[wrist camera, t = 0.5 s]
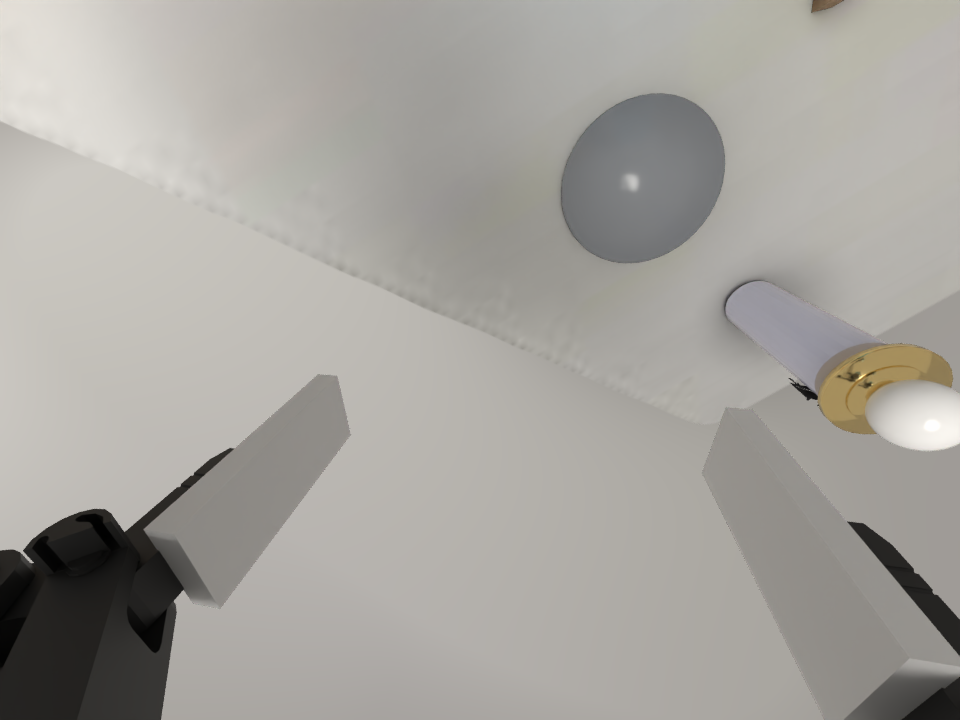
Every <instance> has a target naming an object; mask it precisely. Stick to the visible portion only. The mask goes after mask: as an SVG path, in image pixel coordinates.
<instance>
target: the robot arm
mask: <svg viewBox="0 0 960 720" xmlns="http://www.w3.org/2000/svg"><path fill="white" fill-rule="evenodd" d="M349 436H350V430H349V425H348V421H347V416H346V412H345V408H344V404H343V399H342V395H341V390H340V386H339V382H338V378H337V376H331V375H317V376H316V377H315V378H314V379H313V380H311V381H310V382H309V383H308V384H307V385H306V386H305V387H304V388H302V389H301V390H300V391H299V392H298V393H297V394H296V395H294V396H293V397H292V398H291V399H290V400H289V401H288V402H287V403H286V404H284V405H283V406H282V407H281V408H280V409H279V410H278V411H276V412H275V413H274V414H273V415H272V416H271V417H270V418H269V419H267V420H266V421H265V422H264V423H263V424H262V425H261V426H259V427H258V428H257V429H256V430H255V431H254V432H253V433H252V434H251V435H249V436H248V437H247V438H246V439H245V440H244V441H243V442H241V443H240V444H239V445H238V446H237V447H236V448H235V449H232V448H229V449H228V450H226V451H224V452H222V453H220V454H219V455H217V456H215V457H213V458H211V459H210V460H209V461H208V462H206V463H205V464H204V465H203V466H202V467H201V468H199V469H198V470H197V471H196V472H195V473H194V475H193V476H190V477H189V478H188V479H187V480H185V481H184V482H183V483H182V484H181V487H177V488H176V489H175V490H174V491H173V492H171V493H170V494H169V495H168V496H167V497H165V498H164V499H163V500H162V501H161V502H160V503H158V504H157V505H156V506H155V507H154V508H152V509H151V510H150V511H149V512H148V513H147V514H146V515H144V516H143V517H142V518H141V519H140V520H139V521H137V522H136V523H135V524H134V525H133V526H131V527H130V528H129V529H128V530H127V531H125V532H124V531H123V530H122V528H121V527H120V525H119V524H118V523H117V521H116V520H115V518H114V517H113V516H112V514H111V513H109V512H108V511H107V510H105V509H92V510H87V511H83V512H79V513H77V514H74V515H71V516H69V517H67V518H64V519H62V520H60V521H58V522H57V523H55V524H53V525H52V526H50V527H48V528H46V529H45V530H44V531H43V532H41V533H40V534H39V535H38V536H36V537H35V538H34V539H32V540H31V542H30V543H29V544H28V545H27V546H26V548H25V549H24V550H23V551H24V552H25V553H26V555H27V556H28V557H29V558H30V559H31V560H32V561H33V562H34V563H29V561H28V560H27V559H26V558H25V557H24V556H23V555H22V554H21V553H20V552H18V551H16V550H2V551H0V720H161V715H162V708H163V701H164V695H165V688H166V681H167V674H168V667H169V660H170V653H171V646H172V639H173V632H174V626H175V619H176V605H175V603H174V600H175V599H176V597H177V596H178V595H179V594H180V593H181V591H183V590H184V591H185V592H186V594H187V595H188V597H189V598H190V600H191V601H192V603H193V604H198V605H203V606H208V607H213V608H218V609H220V608H221V607H222V606H223V604H224V603H225V602H226V600H227V599H228V598H229V596H230V595H231V594H232V592H233V591H234V590H235V588H236V587H237V586H238V584H239V583H240V582H241V580H242V579H243V578H244V576H245V575H246V574H247V572H248V571H249V570H250V568H251V567H252V566H253V564H254V563H255V562H256V560H257V559H258V558H259V556H260V555H261V554H262V552H263V551H264V550H265V548H266V547H267V546H268V544H269V543H270V542H271V540H272V539H273V538H274V536H275V535H276V534H277V532H278V531H279V530H280V528H281V527H282V526H283V524H284V523H285V522H286V520H287V519H288V518H289V516H290V515H291V514H292V512H293V511H294V510H295V508H296V507H297V506H298V504H299V503H300V502H301V500H302V499H303V498H304V496H305V495H306V494H307V492H308V491H309V490H310V488H311V487H312V486H313V484H314V483H315V482H316V480H317V479H318V478H319V476H320V475H321V474H322V472H323V471H324V470H325V468H326V467H327V466H328V464H329V463H330V462H331V460H332V459H333V458H334V456H335V455H336V454H337V452H338V451H339V450H340V448H341V447H342V446H343V444H344V443H345V442H346V440H347V439H348V437H349ZM702 474H703V476H704V478H705V480H706V482H707V484H708V486H709V488H710V490H711V492H712V494H713V496H714V498H715V500H716V502H717V504H718V506H719V509H720V510H721V512H722V515H723V517H724V519H725V520H726V523H727V525H728V527H729V529H730V531H731V532H732V535H733V537H734V539H735V541H736V543H737V545H738V547H739V549H740V551H741V553H742V555H743V557H744V559H745V561H746V563H747V565H748V567H749V569H750V571H751V573H752V575H753V577H754V579H755V581H756V583H757V585H758V587H759V589H760V591H761V593H762V595H763V597H764V599H765V601H766V603H767V605H768V607H769V609H770V611H771V613H772V615H773V617H774V619H775V621H776V623H777V625H778V627H779V629H780V631H781V633H782V635H783V637H784V639H785V641H786V643H787V646H788V647H789V650H790V651H791V654H792V656H793V658H794V659H795V662H796V664H797V666H798V668H799V670H800V672H801V674H802V676H803V678H804V680H805V682H806V684H807V686H808V688H809V690H810V692H811V694H812V696H813V698H814V700H815V702H816V704H817V706H818V708H819V710H820V712H821V714H822V716H823V718H824V720H960V619H958V617H957V616H956V615H955V614H954V613H953V612H952V611H951V609H950V608H949V607H948V606H947V605H946V604H945V603H944V602H943V601H942V600H941V598H940V597H939V596H938V595H934V594H933V592H932V589H931V588H930V586H929V585H928V584H927V583H926V582H925V581H924V580H923V579H922V578H921V577H920V575H919V574H915V573H914V569H913V568H912V566H911V565H910V564H909V563H908V562H907V561H906V560H905V559H904V558H903V557H902V556H901V554H900V553H899V552H898V551H897V550H896V549H895V548H894V547H893V545H891V544H890V543H889V542H887V541H886V540H885V539H883V538H882V537H881V536H879V535H878V534H877V533H875V532H874V531H873V530H871V529H870V528H869V527H867V526H866V525H865V524H863V523H855V522H847V521H846V520H845V519H844V518H843V516H842V515H841V514H840V513H839V512H838V510H837V509H836V508H835V507H834V506H833V505H832V503H831V502H830V501H829V500H828V499H827V498H826V496H825V495H824V494H823V493H822V492H821V490H820V489H819V488H818V487H817V485H816V484H815V483H814V482H813V481H812V479H811V478H810V477H809V476H808V475H807V473H805V471H804V470H803V469H802V468H801V466H800V465H799V464H798V463H797V462H796V460H795V459H794V458H793V457H792V456H791V455H790V453H789V452H788V451H787V450H786V448H785V447H784V446H783V445H782V444H781V442H780V441H779V440H778V439H777V438H776V437H775V435H774V434H773V433H772V432H771V431H770V429H769V428H768V427H767V426H766V425H765V423H764V422H763V421H762V420H761V419H760V418H759V416H758V415H757V414H756V413H755V411H754V410H750V409H739V408H727V407H726V408H725V411H724V414H723V417H722V419H721V422H720V425H719V428H718V430H717V433H716V436H715V438H714V441H713V444H712V446H711V449H710V452H709V455H708V457H707V460H706V463H705V465H704V468H703V471H702Z"/></svg>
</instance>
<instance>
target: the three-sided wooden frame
mask: <svg viewBox="0 0 960 720" xmlns="http://www.w3.org/2000/svg"><path fill="white" fill-rule="evenodd" d="M842 1H844V0H813V6H812V12H816V11H820V10H823V9H827V8H831V7H833V6H835V5H837V4H838V3H840V2H842ZM812 12H811V13H812Z"/></svg>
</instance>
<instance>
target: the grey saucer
mask: <svg viewBox="0 0 960 720" xmlns="http://www.w3.org/2000/svg"><path fill="white" fill-rule="evenodd" d="M724 172H725V154H724V147H723V143H722V139H721V136H720V134H719V131H718V129H717V127H716V125H715V124H714V122H713V121H712V119H711V118H710V117H709V116H708V114H707V113H706V112H705V111H704V110H703V109H701V108H700V107H699V106H697V105H696V104H695V103H693V102H691V101H689V100H687V99H685V98H682V97H679V96H676V95H670V94H647V95H641V96H637V97H634V98H631V99H628V100H626V101H624V102H621V103H619V104H617V105H616V106H614V107H612V108H611V109H609V110H608V111H606V112H605V113H604V114H602V115H601V116H600V117H599V118H597V119H596V120H595V121H594V122H593V123H592V124H591V125H590V126H589V127H588V128H587V130H586V131H585V132H584V133H583V135H582V136H581V137H580V139H579V140H578V142H577V143H576V145H575V147H574V148H573V150H572V152H571V154H570V157H569V159H568V162H567V164H566V167H565V171H564V175H563V180H562V189H561V195H562V206H563V212H564V215H565V219H566V222H567V224H568V226H569V229H570V230H571V232H572V234H573V235H574V237H575V238H576V239H577V240H578V242H579V243H580V244H581V245H582V246H583V247H585V248H586V249H587V250H588V251H590V252H591V253H593V254H594V255H596V256H598V257H600V258H603V259H606V260H609V261H613V262H619V263H637V262H643V261H648V260H651V259H654V258H657V257H660V256H662V255H664V254H667V253H669V252H670V251H672V250H674V249H675V248H677V247H679V246H680V245H681V244H683V243H684V242H685V241H687V240H688V239H689V238H690V237H691V236H692V235H693V234H694V233H695V232H696V231H697V230H698V229H699V228H700V226H701V225H702V224H703V223H704V221H705V220H706V219H707V217H708V216H709V214H710V212H711V211H712V209H713V207H714V205H715V203H716V201H717V198H718V196H719V194H720V190H721V187H722V183H723V178H724Z"/></svg>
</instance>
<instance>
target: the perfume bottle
mask: <svg viewBox="0 0 960 720" xmlns="http://www.w3.org/2000/svg"><path fill="white" fill-rule="evenodd" d="M725 310H726V315H727V318H728V319H729V321H730V322H732V323H733V324H734V325H735V326H736V327H737V328H739V329H740V330H741V331H742V332H743V333H744V334H746V335H747V336H748V337H749V338H750V339H751V340H753V341H754V342H755V343H756V344H757V345H759V346H760V347H761V348H762V349H763V350H764V351H766V352H767V353H768V354H769V355H770V356H771V357H773V358H774V359H775V360H776V361H777V362H779V363H780V364H781V365H782V366H783V367H784V368H786V369H787V370H788V371H789V372H790V373H791V374H793V375H794V376H795V377H796V378H797V379H799V380H800V381H801V382H802V383H803V384H804V385H806V386H801V385H799V383H797V384H796V383H795V382H794V381H793V380H792V379H791V378H789V379H790V380H792V381H793V382H794V383H795V384H793V383H791V384H792V385H793V386H794V387H795V388H796V389H797V390H798V391H800V392H801V393H802V394H803V395H804V396H805V397H807V400H810V399H811V398H812V399H815V400H818V406H819V409H820V410H821V412H822V414H823V415H824V416H825V417H826V418H827V419H828V420H829V421H830V422H832V423H833V424H834V425H835V426H837V427H838V428H840V429H842V430H845V431H848V432H852V433H858V434H878V435H879V436H880V437H882V438H883V439H885V440H886V441H888V442H890V443H892V444H894V445H897V446H900V447H903V448H907V449H911V450H918V451H937V450H943V449H947V448H951V447H954V446H956V445H958V444H960V393H958V392H957V391H955V390H954V389H952V388H951V386H952V381H953V375H952V370H951V368H950V366H949V364H948V362H946V361H945V360H944V359H943V358H942V357H941V356H939V355H937V354H936V353H934V352H932V351H930V350H928V349H925V348H923V347H920V346H916V345H912V344H902V343H900V344H888V343H886V342H883V341H882V340H880V339H878V338H876V337H874V336H872V335H870V334H868V333H867V332H865V331H863V330H861V329H859V328H857V327H855V326H853V325H851V324H849V323H847V322H845V321H843V320H841V319H840V318H838V317H836V316H834V315H832V314H830V313H828V312H826V311H824V310H822V309H820V308H818V307H816V306H814V305H813V304H811V303H809V302H807V301H805V300H803V299H801V298H799V297H797V296H795V295H793V294H791V293H789V292H787V291H786V290H784V289H782V288H780V287H778V286H776V285H774V284H772V283H770V282H766V281H754V282H750V283H747V284H745V285H743V286H741V287H740V288H738V289H737V290H736V291H734V292H733V294H732V295H731V296H730V298H729V299H728V301H727V304H726V309H725ZM796 386H797V387H796ZM798 386H799V388H798ZM800 388H801V389H800ZM803 389H804V390H803ZM806 389H807V390H806ZM809 390H810V391H809ZM811 391H812V392H811Z"/></svg>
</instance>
